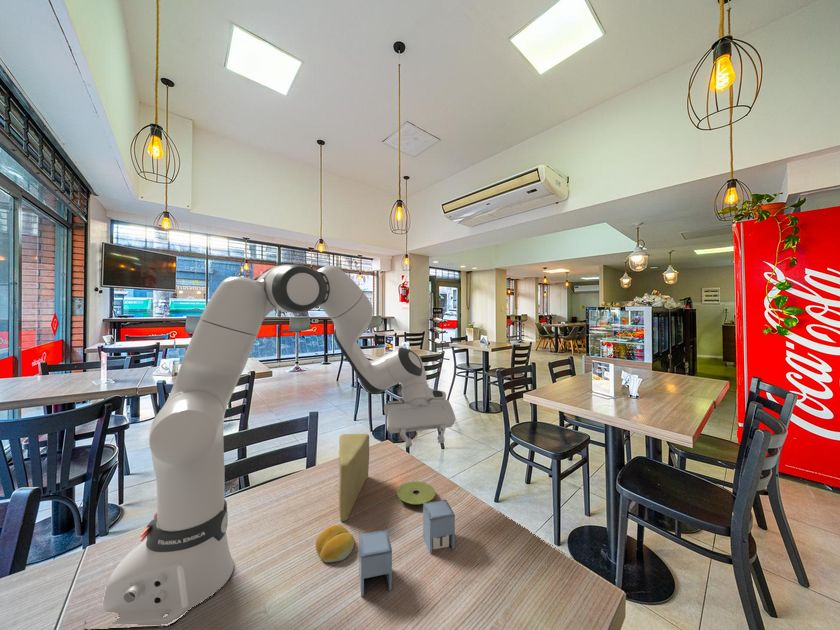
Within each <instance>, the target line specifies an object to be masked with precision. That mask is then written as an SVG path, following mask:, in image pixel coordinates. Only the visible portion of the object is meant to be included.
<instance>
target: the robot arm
mask: <svg viewBox="0 0 840 630" xmlns="http://www.w3.org/2000/svg"><path fill="white" fill-rule="evenodd" d="M316 307H319V308H320V309H322V310H323V312H324V313H325V314H326V315H327V316H328V317H329V318H330V320H331V321H332V323H333V325H334V327H335V328H334V331H333V338H334V340H335V342H336V344H337V347H338V348H339V350H340V351H341V353H342V354H343V356H344V358H346V360H347V362H348V363H349V365H350V367H352V370H353V371H354V372H355V374H356V376H357V377H358V380H359V383H360V385H361V386H362V388H363V389H364V390H365V391H366V392H367V393H370V394H372V395H379V394H381V393H383V392H385V391H386V390H388V389H390V388H391V387H394V386H396V385H398V384H400V385H401V392H400V393H401V397H402V400H394V401H393V400H391V401H388V402H387V403H385V404H384V406H383V409H384V414H385V416H386V431H387V432H388V433H389V434H399V435H400V437H401V438H402V440H403V441H404V442H405V448H410V447H412V445H413V442H412V438H410V437H408V436H407V435H406V433H408V432H417V431H427V430H435V429H438V430H439V432H440V434H438V435H437V442H438V444H443V443H445V436H444V435H445V431H446V428H451V427H454V425H455V423H456V414H455V413H454V409H453V407H452V404H451V403H450V401H449V400H447V394H446V392H445V391H444V390H437V389H435V388H431V387H430V386H429V384H428V383H427V373H426V370H425V365H424V363H423V361H422V358H421V356H420V355H419V354H418V352H415V351H413V350H411V349H408V348H407V347H399V348H396V349H394V350H392V351H390V352H388V353H387V354H385V355H383V356H380V357H379V358H376V359H373V360H370V359H368V358H367V356H366V355H365V353H364V352H363V349H362V348H361V347H360V345H359V344H358V340H359V339H360V338H361V336H363V334H364V333H365V332H366V331H367V329H368V327H369V326H370V324H371V321H372V319H373V315H374V308H373V304H372V303H371V300H370V299H369V298H368V296H367V295H366V294H365V292H364V291H363V290H362V289H361V288H360V286H359V285H358V284H357V283H356V282H355V281H354V280H353V279H352V277H350V276H349V275H348V274H347V273H346V272H345V271H344V270H342V269H341V268H340V267H338V266H336V265H333V264H330V265H325V266H322V267H320V268H319V269H314V268H311V267H309V266H307V265H303V264H295V263H294V264H279V265H277V266H273V267H270V268H268V269H266V270H264V271H263V272H262V273H260V274H259V275H258V276H257V277H255V278H253V279H252V278H248V277H246V276H230V277H227V278H225V279H223V280H222V281H221V282H220V284H219V285H218V287H217V288H216V289H215V290H214V292H213V293H212V295H211V297H210V298H209V300H208V302H207V304H206V305H205V307H204V310H203V311H202V314H201V315H200V318H199V321H198V322H197V325H196V327H195V329H194V331H193V333H192V337H191V338H190V341H189V343H188V346H187V348H186V350H185V353H184V354H183V357H182V361H181V364H180V367H179V370H178V372H177V375H176V378H175V380H174V382H173V385H172V387H171V390H170V393H169V395H168V397H167V400H166V401H165V403H164V404H163V406H162V407H161V409H160V410H159V411H158V412H157V414H156V415H155V417H154V418H153V419H152V422H151V424H150V427H149V434H148V435H149V436H148V441H149V443H148V444H149V449H150V451H151V452H150V453H151V461H152V467H153V470H154V475H155V481H156V495H157V496H156V510H157V512H156V513H155V514H154V516H153V519H152V520H151V521H150V522H149V523H148V524H147V525H146V528H145V530H144V531H143V532H142V534H141V535H140V537H141V538H140V543H139V544H138V545H136V546H135V547H134V548H133V549H132V550H130V551H129V552H128V553H127V554H126V556H124V558H122V560H121V561H120V562H119V563H118V564H117V566H116V567H115V568H114V570H113V571H112V573H111V574H110V576H109V578H108V581H107V582H106V586H105V588H104V589H105V593H104V598H103V604H102V610H103V611H107V612H115V613H118V615H119V616H118V617H120V618H119V619H117V621H115V622H111V623H112V624H138V625H161V624H168V623H170V622H172V621H173V620H175V619H177V618H179V617H180V616H181V615H183V614H184V613H185V612H186V611H188V610H189V609H190V608H192V607H193V606H195V605H197V604H199V603H200V602H201V601H204V600H205V599H206V598H208V597H209V596H211V595H212V594H213V593H215V592H216V591H217V590H218V589H219V590H220V589H222V588H221V587H224V585H225V584H227V582H228V580H229V579H230V577H231V576H232V574H233V572H234V568H235V563H234V560H233V558H232V555H231V552H230V548H229V542H228V537H227V529H228V524H229V523H228V522H229V513H228V502H227V500H226V499H225V495H226V492H225V491H226V490H225V489H226V488H225V486H226V485H225V479H226V478H225V475H226V474H225V472H226V471H225V453H224V451H225V450H224V449H225V448H224V447H225V446H224V422H225V416H226V415H225V414H226V411H227V409H228V408H227V407H228V405H229V403H230V401H231V398H232V396H233V393H234V391H235V389H236V387H237V385H238V383H239V380H240V378H241V376H242V374H243V372H244V370H245V367H246V366H247V365H246V364H247V362H248V360H249V357H250V355H251V352H252V350H253V348H254V345H255V342H256V339H257V337H258V336H259V335H258V334H259V332H260V330H261V327H262V324H263V321H265V319H266V317H267V316H268V315H269V314H270V313H271V312H272V311H275V310H278V311H280V312H284V313H293V314H302V313H306V312H309V311H311V310H313V309H315V308H316ZM145 538H146V539H145ZM219 590H218V591H219ZM218 591H217V592H218ZM217 592H216V593H217ZM216 593H215V594H216ZM212 596H213V595H212ZM212 596H211V597H212ZM208 599H209V598H208ZM205 601H206V600H205ZM205 601H204V602H205ZM200 604H201V603H200ZM200 604H199V605H200ZM197 606H198V605H197ZM195 607H196V606H195ZM192 609H193V608H192ZM188 612H189V611H188ZM165 614H168V616H166V617H164V618H163V616H164V615H165ZM115 618H117V617H115Z"/></svg>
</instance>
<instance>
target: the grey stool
mask: <svg viewBox="0 0 840 630" xmlns="http://www.w3.org/2000/svg"><path fill="white" fill-rule="evenodd" d="M422 506H423V507H422V513H423V514H422V536H423V538H424V542H425V544H426V548H427V549H428V552H429V554H430V555H431V554H433V549H432V538H435V537H441V536H446V535H449V546H450V547H451V549H452V550H454V549H455V548H456V547H455V545H456V543H455V541H456V540H455V539H456V535H455V534H456V533H455V532H456V514H455V512H454V510H453V509H452V507H451V506H450V503H449V502H448V500H447V499H441V500H435V501H428V502H425V503H422Z"/></svg>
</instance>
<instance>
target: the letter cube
mask: <svg viewBox="0 0 840 630" xmlns="http://www.w3.org/2000/svg"><path fill="white" fill-rule="evenodd" d="M447 547H450V543H449V535H446V536H441V537H435V538H432V551H433V550H438V549H442V548H443V549H444V548H447Z"/></svg>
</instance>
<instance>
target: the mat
mask: <svg viewBox="0 0 840 630" xmlns="http://www.w3.org/2000/svg"><path fill="white" fill-rule="evenodd" d="M396 493H397V494H396V495H397V497H398V498H399V500H401V501H403V502H404V503H406V504H409V505H410V504H411V505H421V504H422V505H423V503H428V502H431V500H433V499H434V498H435V495H436V489H435V488H434V487H433V486H432V485H431V484H429V483H426V482H424V481H410V482H409V481H408V482H407V483H403V484H402V485H400V486H399V488H398V489H397V492H396Z"/></svg>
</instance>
